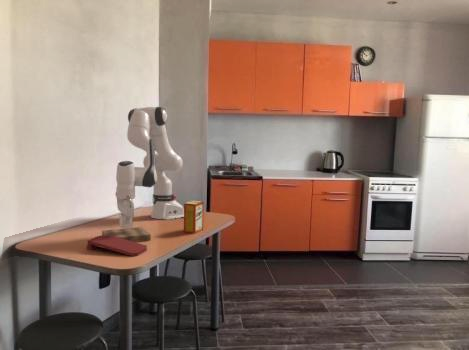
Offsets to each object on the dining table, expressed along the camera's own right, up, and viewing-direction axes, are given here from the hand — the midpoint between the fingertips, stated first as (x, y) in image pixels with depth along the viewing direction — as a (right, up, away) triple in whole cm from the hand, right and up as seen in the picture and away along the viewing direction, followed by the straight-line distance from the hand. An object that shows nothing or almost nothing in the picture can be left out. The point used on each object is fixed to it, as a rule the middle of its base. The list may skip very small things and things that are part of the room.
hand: (125, 222), depth 200 cm
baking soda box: (+31, -7, +19) cm, 37 cm away
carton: (+1, -10, -18) cm, 21 cm away
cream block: (0, -2, 0) cm, 2 cm away
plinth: (0, -8, +1) cm, 8 cm away
